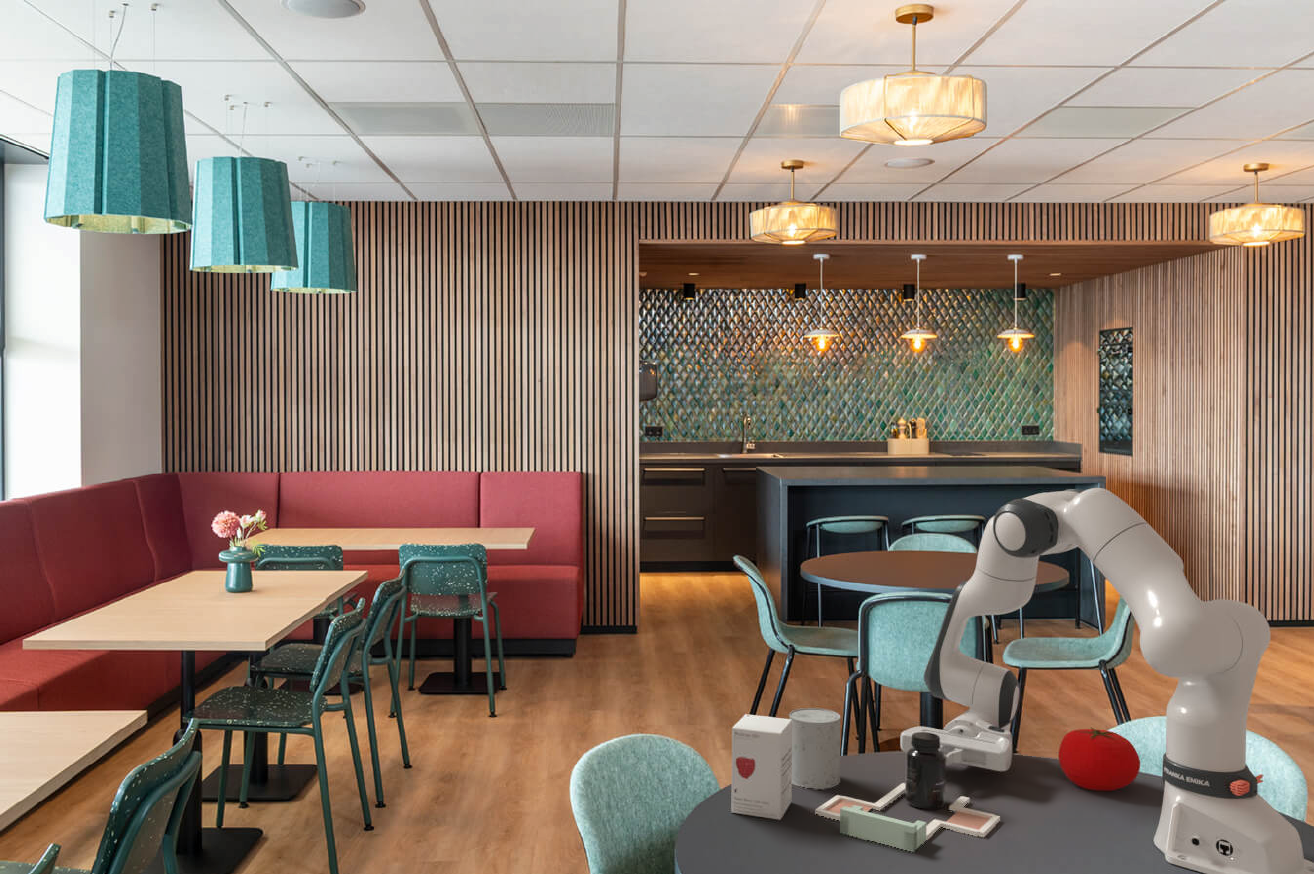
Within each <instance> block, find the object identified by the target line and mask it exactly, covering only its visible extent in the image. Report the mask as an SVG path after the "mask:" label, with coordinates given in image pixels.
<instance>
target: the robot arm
mask: <svg viewBox="0 0 1314 874" xmlns="http://www.w3.org/2000/svg"><path fill="white" fill-rule="evenodd" d="M1076 548H1078V549H1080V550H1081V551H1082V552H1083V553H1084V554H1085V555H1086V556H1087V558H1088V559H1089V560H1090V562H1091V563H1092V564H1093V565H1094V566H1095V567H1096V568H1097V570H1098V571H1099V572H1100V573H1101V574H1102V575H1103V577H1104V578H1105V579H1106V580H1107V581H1108V582H1109V584H1110V585H1111V586H1112V588H1114V589H1115V591H1116V592H1117V593H1118V594H1119V595H1120V597H1121V598H1122V599H1123V601H1124V603H1125V604H1126V605H1127V606H1128V609H1129V611H1130V612H1131V614H1132V616H1133V618H1134V620H1135V622H1136V625H1137V627H1138V629H1139V633H1140V635H1139V647H1140V651H1141V654H1142V656H1143V658H1144V660H1145V662H1146V663H1147V664H1148V665H1149V666H1150V667H1151V669H1152V670H1154V671H1155V672H1157V673H1159V674H1160V675H1163V676H1164V677H1168V678H1173V679H1178V683H1177V685H1176V687H1175V690H1174V693H1173V695H1172V696H1171V698H1170V699H1169V701H1168V702H1167V705H1166V716H1165V717H1166V719H1165V720H1166V721H1165V722H1166V723H1165V725H1166V726H1165V753H1163V757H1162V784H1163V788H1164V790H1163V797H1162V806H1161V811H1160V817H1159V821H1158V825H1157V828H1156V831H1155V834H1154V836H1153V843H1154V845H1155V846H1156V847H1157V848H1158V849H1159V850H1160V851H1161V852H1162V853H1163V854H1164V858H1165V861H1166V862H1168V863H1169V864H1172V865H1175V866H1177V867H1178V866H1179V867H1182V868H1186V869H1188V870H1193V871H1197V872H1199V873H1201V874H1202V873H1203V874H1314V862H1312V861H1310V860H1308V859H1306V858H1305V857H1304V851H1303V844H1302V840H1301V838H1300V834H1299V831H1298V830H1297V828H1296V827H1295V826H1294V825H1293V824H1291V823H1290V822H1289V821H1288V820H1287V819H1286V818H1285V817H1284V816H1283V815H1281V813H1279V811H1277V810H1276V809H1275V808H1274V807H1273V806H1272V805H1271V804H1270V803H1269V802H1267V800H1266V799H1264V798H1263V797H1262V795H1260V793H1258V791H1259V790H1258V789H1259V787H1258V784H1261V783H1263V782H1264V780H1263V777H1264V775H1263V774H1261V773H1260V774H1258V775H1256V776H1255V774H1254V773H1252V771H1251V770H1250V767H1249V766H1248V764H1246V761H1247V759H1246V757H1247V753H1246V752H1247V724H1248V723H1247V721H1248V712H1249V707H1250V702H1251V699H1252V694H1253V689H1254V686H1255V682H1256V678H1257V673H1258V669H1259V665H1260V663H1261V660H1262V659H1263V658H1262V657H1263V655H1264V654H1265V652H1266V650H1267V649H1268V647H1269V646H1270V642H1271V635H1272V634H1271V629H1270V625H1269V623H1268V620H1267V619H1266V617H1265V616H1264V615H1263V613H1262V612H1261V611H1260V610H1259V609H1257V608H1256V607H1255V606H1253V605H1250V604H1249V603H1246V602H1243V601H1238V600H1233V599H1226V598H1225V599H1224V598H1220V599H1219V598H1218V599H1212V600H1208V601H1203V600H1202V599H1201V598H1199V597H1198V596H1197V594H1196V593H1195V591H1194V590H1193V589H1192V586H1191V585H1190V583H1189V581H1188V579H1187V578H1186V576H1185V572H1184V569H1185V568H1184V567H1185V566H1184V562H1183V559H1182V558H1181V557H1180V555H1178V553H1177V552H1176V551H1175V550H1174V549H1173V548H1172V547H1171V546H1170V545H1169V543H1167V542H1166V540H1165V539H1164V538H1163V537H1162V536H1160V534H1159V533H1158V532H1157V531H1156V530H1155V529H1154V528H1153V526H1151V525H1150V524H1149V523H1148V522H1147V521H1146V520H1145V519H1144V517H1143V516H1141V515H1140V514H1139V513H1138V512H1137V511H1136V510H1135V509H1134V508H1132V507H1131V506H1130V505H1129V504H1128V503H1127V502H1125V501H1124V500H1123V499H1121V498H1120V497H1118V496H1117V495H1116V494H1114V493H1113V492H1112V491H1110V490H1108V489H1106V488H1103V487H1093V488H1089V489H1084V490H1083V489H1077V488H1075V489H1074V488H1073V489H1072V488H1069V489H1065V490H1061V491H1059V490H1058V491H1050V492H1041V493H1040V492H1039V493H1036V494H1033V495H1029V496H1027V497H1022V498H1016V499H1013V500H1011V501H1009V502H1007V503H1005V504H1004V505H1003V506H1001V507H1000V508H999V509H998V510H997V511H996V512H995V514H994V515H993V516H992V517H990V518H989V519H988V521H987V523H986V525H985V527H984V530H983V533H982V537H981V539H980V543H979V547H978V552H977V558H976V564H975V569H974V572H973V574H972V576H971V577H970V579H969V580H965V581H964V580H963V581H961V582H960V583H959V584H958V586H957V587H956V589H955V590H954V592H953V594H952V596H951V597H950V598H951V599H950V601H949V603H948V605H947V609H946V612H945V614H944V617H943V620H942V624H941V627H940V630H939V633H938V636H937V639H936V641H935V645H934V647H933V650H932V652H931V655H930V657H929V659H928V661H927V663H926V666H925V669H924V674H923V681H924V684H925V686H926V688H927V690H928V691H929V692H930V694H931V695H932V696H933V697H935V698H939V699H942V700H946V701H949V702H954V703H956V704H959V705H962V706H965V707H967V708H969V709H967V710H966V711H964V712H963V713H962V714H960V715H958V716H956V717H955V718H954V719H952V720H951V721H949V722H948V723H947V724H946V725H945V726H944V727H943V729H938V728H934V727H928V726H921V725H919V726H915V727H910V728H907V729H905V730H903V731H902V732H901V734H900V737H899V739H900V741H899V742H900V745H899V746H900V749H901V751H902V752H904V753H907V751H908V750H909V749H911V748H913V746H912V745H911V742H912V734H914V733H917V732H928V733H933V734H936V735H938V736H939V737H940V748H939V750H940V751H941V752H942V753H943V754H944V756H945V765H947V766H950V765H951V764H959V765H964V766H972V767H976V768H977V767H978V768H981V769H987V770H991V771H997V772H1007V771H1008V770H1009V769H1010V768H1011V765H1012V758H1013V740H1012V733H1011V731H1010V728H1011V727H1010V726H1011V723H1012V722H1013V721H1014V720H1015V719H1016V716H1017V714H1018V710H1019V708H1020V703H1021V699H1022V689H1021V685H1020V683H1019V681H1018V678H1017V677H1016V674H1015V673H1014V672H1013V671H1012V670H1011V669H1008V668H1005V667H1002V666H999V665H997V664H993V663H991V662H987V661H983V660H981V659H978V658H975V657H972V656H969V655H966V654H964V653H962V651H961V650H960V644H961V641H962V638H963V635H964V632H965V629H966V627H967V624H968V621H969V619H970V618H974V617H979V616H999V615H1006V614H1009V613H1012V612H1015V611H1017V610H1019V609H1021V608H1023V607H1024V606H1025V605H1026V604H1028V603H1029V601H1030V600H1031V598H1032V596H1033V593H1034V589H1035V586H1036V581H1037V580H1036V579H1037V574H1038V565H1039V560H1040V557H1041V556H1045V555H1052V554H1061V553H1064V552H1068V551H1071V550H1073V549H1076Z"/></svg>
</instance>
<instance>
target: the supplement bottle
mask: <svg viewBox="0 0 1314 874" xmlns="http://www.w3.org/2000/svg"><path fill="white" fill-rule="evenodd" d="M911 745H912V746H913V748H911V749H909V750H908V751H907V752H905V782H904V783H905V793H904V796H905V801H906V803H907V804H908V805H909V804H910V806H911V805H912V806H911V807H913V806H914V808H916V807H918V808H917V809H920V808H924V809H923V810H937V809H936V808H938V809H941V808H942V807H944V806H945V804H946V764H945V756H944V754H943V753H942V752H941V751H940V750H939V748H940V737H939V736H938V735H936V734H933V733H928V732H917V733H914V734H912V742H911ZM940 807H941V808H940Z"/></svg>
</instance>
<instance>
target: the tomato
mask: <svg viewBox="0 0 1314 874" xmlns="http://www.w3.org/2000/svg"><path fill="white" fill-rule="evenodd" d="M1058 760H1059V761H1058V762H1059V766H1060V768H1061V769H1062V771H1063V774H1064V775H1065V776H1066V778H1067V779H1068V780H1069V781H1071V783H1074V784H1075V785H1077V786H1078V787H1081V788H1083V789H1085V790H1092V791H1098V792H1100V791H1101V792H1105V791H1106V792H1108V791H1109V792H1110V791H1117V790H1118V789H1123V788H1125V787H1126V786H1128V785H1129V784H1131V783H1132V782H1133V781H1134V780H1135V779H1136V778H1137V777H1138V774H1139V772H1140V769H1141V760H1140V757H1139V754H1138V752H1137V750H1136V748H1135V746H1134V744H1132V743H1131V742H1130V740H1129V739H1127V738H1125V737H1124V736H1123V735H1121V734H1118V733H1117V732H1114V731H1111V730H1106V729H1095V728H1093V727H1090V728H1080V729H1073V730H1071V731H1069V732H1067V733H1066V734H1065V735H1064V736H1063V738H1062V740H1061V742H1060V745H1059V749H1058Z"/></svg>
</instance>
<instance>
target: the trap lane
mask: <svg viewBox="0 0 1314 874" xmlns="http://www.w3.org/2000/svg"><path fill="white" fill-rule="evenodd" d="M902 794H903V795H905V782H902V783H900V784H899V785H898V786H896V787H895V788H894V789H892V790H891V791H889V792H888V793H887V794H885V795H884V796H883V797H881V798H880V799H878V800H877V801H875V802H869V801H866V800H863V799H858V798H857V799H856V798H854V797H849V796H845V795H839V794H837V795H835V796H833V797H832V798H831V799H829V800H827V801H826V802H824V803H823V804H822V805H820V806H818V807H817V808H815V810H814V814H815V815H816V814H818V815H817V816H819V817H821V816H824V817H823V818H825V817H826V819H829V818H831V819H830V820H833V819H835V820H834V821H837V820H839V821H838V822H840V823H839V833H840V834H841V833H842V835H845V834H846V835H845V836H848V835H849V837H852V836H853V838H856V837H857V838H856V839H861V840H864V841H867V840H870V841H869V842H871V841H875V842H877V843H876V844H879V843H881V844H880V845H882V844H885V845H884V846H886V845H889V846H888V847H890V846H892V847H891V848H894V847H896V848H895V849H897V848H899V849H898V850H901V849H903V850H902V851H905V850H907V851H906V852H909V851H911V852H910V853H912V852H913V853H915V850H916V849H917V848H918V847H919V846H920V845H921V844H922V845H924V844H925V843H926V842H927V841H928V840H929V839H930V838H932V836H934V835H935V834H936V833H937V832H938V831H939V830H940V829H941V828H940V827H943V828H946V829H945V830H947V829H950V830H949V831H951V830H953V831H952V832H955V833H960V834H964V833H965V834H964V835H968V834H969V835H968V836H972V835H973V836H972V837H978V836H979V837H978V838H982V837H983V839H984V838H985V837H986V836H987V835H988V834H989V833H990V832H991V831H992V830H993V829H994V828H995V827H996V826H997V825H998V824H999V823H1000V822H1001V816H1000V815H997V814H994V813H989V812H985V811H980V810H976V809H973V808H967V807H966V806H967V805H968V804H970V803H969V802H970V799H971V798H970V797H966V796H962V795H961V796H960V797H958V798H957V799H956V800H954V802H952V803H951V804H950V805H949V806H948V807H949V808H948V809H949V810H953V811H957V812H954V814H953V815H952V816H951V817H950V818H948V819H947V820H946V821H944V820H940V819H936V818H935V819H933V820H931V821H930V822H929V823H928V824H927V821H922V820H916V821H915V822H914V823H913V822H910V821H905V820H901V819H897V818H894V817H890V816H885V815H881V814H877V813H874V812H871V811H870V812H868V811H869V810H870V809H872V808H873V809H876V810H879V811H880V810H881V809H883V808H884V807H885V806H887V805H888V804H889V803H891V804H892V803H894V802H895V801H897V798H898V797H899V798H900V797H902V796H903V795H902ZM901 795H902V796H901ZM899 798H898V799H899ZM894 800H895V801H894ZM893 801H894V802H893ZM967 803H968V804H967ZM966 804H967V805H966ZM965 805H966V806H965ZM888 806H889V805H888ZM888 806H887V807H888ZM964 806H965V807H964ZM884 809H885V808H884ZM884 809H883V810H884ZM949 810H948V811H949ZM879 811H878V812H879ZM880 812H881V811H880ZM999 821H1000V822H999ZM998 822H999V823H998ZM997 823H998V824H997ZM996 824H997V825H996ZM939 828H940V829H939ZM943 828H942V829H943ZM938 829H939V830H938ZM937 830H938V831H937ZM936 831H937V832H936ZM935 832H936V833H935ZM934 833H935V834H934ZM933 834H934V835H933ZM926 840H927V841H926ZM925 841H926V842H925ZM875 842H874V843H875ZM924 842H925V843H924ZM922 845H921V846H922ZM921 846H920V847H921ZM920 847H919V848H920ZM919 848H918V849H919ZM918 849H917V850H918ZM917 850H916V851H917Z"/></svg>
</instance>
